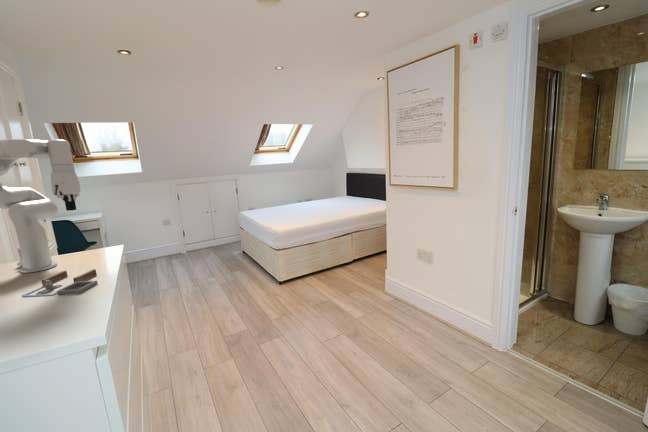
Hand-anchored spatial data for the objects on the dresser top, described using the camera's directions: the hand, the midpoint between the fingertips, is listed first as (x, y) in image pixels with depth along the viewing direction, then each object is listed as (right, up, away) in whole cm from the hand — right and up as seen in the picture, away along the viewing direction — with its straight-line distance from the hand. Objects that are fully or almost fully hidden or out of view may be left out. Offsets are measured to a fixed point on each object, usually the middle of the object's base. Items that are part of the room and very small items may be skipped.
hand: (71, 210), depth 134 cm
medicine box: (-33, -26, +17) cm, 45 cm away
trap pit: (+21, -30, -21) cm, 42 cm away
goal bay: (+9, -31, -21) cm, 38 cm away
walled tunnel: (+9, -29, -11) cm, 32 cm away
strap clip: (+9, -31, -20) cm, 39 cm away
